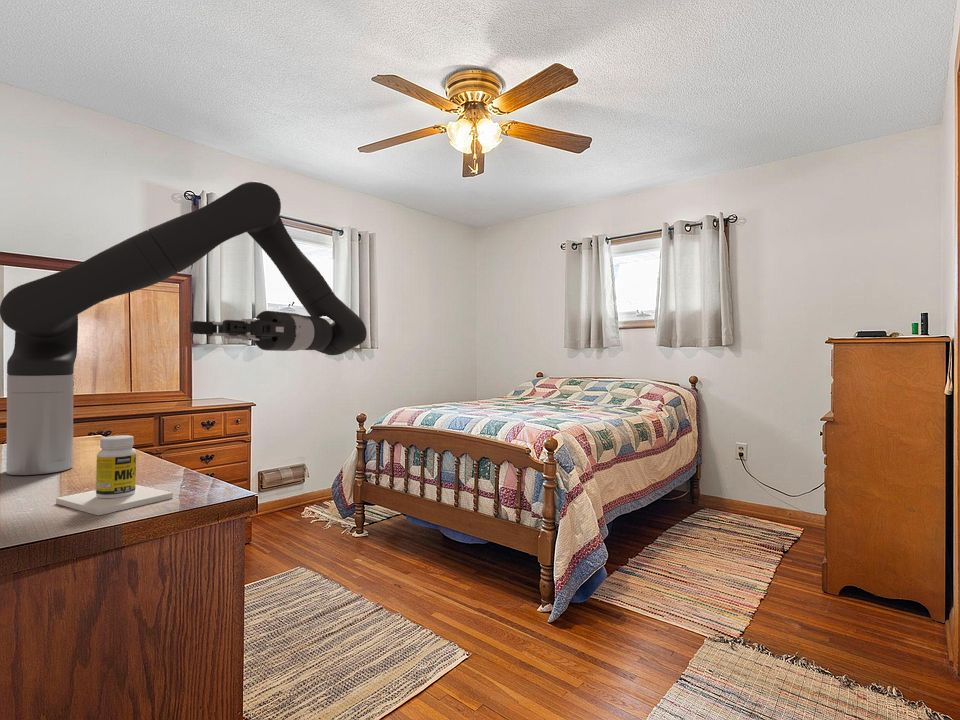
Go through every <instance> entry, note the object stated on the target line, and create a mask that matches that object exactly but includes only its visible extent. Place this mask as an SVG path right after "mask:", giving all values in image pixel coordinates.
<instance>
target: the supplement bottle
mask: <svg viewBox="0 0 960 720" xmlns="http://www.w3.org/2000/svg"><path fill="white" fill-rule="evenodd" d="M134 439H135V438H134V436H133V435H127V434H126V435H125V434H124V435H123V434H122V435H108V436H104V437H101V438H100V443H99V444H100V445H99V446H100V449H101V450H100V451H98V452H97V454H96V472H95V473H96V479H95V480H96V481H95V490H96V496H97V497H98V498H107V499H110V498H121V497H126V496H129V495H132V494H134V493H135V488H136V485H137V483H136V482H137V481H136V480H137V479H136V477H137V451H136V449H135V448H133V447H134V443H135V442H134Z"/></svg>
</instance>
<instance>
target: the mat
mask: <svg viewBox="0 0 960 720" xmlns="http://www.w3.org/2000/svg"><path fill="white" fill-rule="evenodd" d="M173 494H174V493H173V492H170V491H167V490H163V489H157V488H155V487H154V488H153V487H148V486H143V485H139V484H136V488H135V493H134V494H132V495H129V496H126V497H121V498H110V499H107V498H98V497H97V496H96V489H95V490H89V491H84V492H80V493H74V494H69V495H65V496H60V497H55V504H57V505H59V506H64V507H67V508H71V509H74V510H77V511H82V512H84V513H88V514H91V515H95V516H101V515H102V516H103V515H106V514H110V513H114V512H118V511H119V512H120V511H123V510H128V509H132V508H136V507H141V506H145V505H149V504H153V503H157V502H163V501H166V500H170V499H173V498H174V495H173Z"/></svg>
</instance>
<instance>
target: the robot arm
mask: <svg viewBox="0 0 960 720" xmlns="http://www.w3.org/2000/svg"><path fill="white" fill-rule="evenodd" d="M281 210H282V203H281V199H280V195H279V194H278V192H277V191H276V190H275V188H274V187H272V186H271V185H269V184H268V183H265V182H262V181H254V180H253V181H252V180H251V181H247V182H244V183H241V184H239V185H237V186H236V187H235V188H233V189H231V190H230V191H228V192H226V193H225V194H223V195H221V196H219V198H217V199H215V200H213V201H211V202H210V203H207V204H206V205H204V206H201V207H200V208H198V209H196V210H193V211H191V212H187V213H185V214H183V215H180V216H176V217H174V218H173V219H170V220H166V221H165V222H163V223H162V222H161V223H160V224H158V225H155V226H153V227H150V228H148V229H145V230H143V231H141V232H139V233H137V234H135V235H132V236H130V237H129V238H126V239H124V240H123V241H121V242H118V243H117V244H115V245H113V246H110V247H109V248H106V249H105V250H102V251H100V252H99V253H97V254H94V255H93V256H91V257H90V258H88V259H86V260H84V261H82V262H80V263H78V264H76V265H73V266H71V267H69V268H66V269H64V270H61V271H60V270H59V271H58V272H54V273H52V274H49V275H47V276H43V277H41V278H38V279H34V280H32V281H29V282H25V283H23V284H21V285H17V286H16V287H14V288H12V289H11V290H10V291H8V292H7V294H6V295H4V297H3V298H2V300H1V302H0V318H1V321H2V322H3V323H4V324H5V325H6V326H7V327H8V328H9V329H11V330H12V331H14V332H15V333H14V346H13V347H14V348H13V350H12V353H11V355H10V356H9V358H8V359H7V362H6V454H5V455H6V457H5V459H6V461H5V462H6V465H5V470H6V473H5V474H7V475H11V476H31V475H43V474H52V473H57V472H63V471H66V470H70V469H72V468H73V464H74V463H73V461H74V460H73V459H74V455H73V454H74V373H75V372H74V367H75V362H76V360H77V355H78V335H79V330H78V329H79V315H80V314H82V313H83V312H85V311H86V310H89V309H90V308H92V307H93V306H95V305H98V304H99V303H101V302H104V301H106V300H109V299H110V300H111V299H113V298H115V297H119V296H123V295H125V294H130V293H132V292H136V291H139V290H141V289H145V288H148V287H151V286H154V285H156V284H158V283H161V282H163V281H165V280H167V279H169V278H172V277H173V276H175V275H177V274H179V273H181V272H182V271H184V270H186V269H187V268H189V267H192V265H194V264H195V263H197V262H198V261H199V260H201V259H202V258H204V257H205V256H206V255H208V254H209V253H210V252H212V251H213V250H214V249H215V248H217V247H218V246H220V245H221V244H223V243H225V242H226V241H229V240H231V239H233V238H236V237H238V236H240V235H243V234H245V233H247V234H248V235H249V236H250V237H251V238H252V239H253V240H254V241H255V242H256V243H257V245H258V246H260V248H261V249H262V250H263V251H264V253H265V254H266V255H267V256H268V257H269V259H270V260H271V261H272V263H273V264H274V265H275V267H276V268H277V269H278V271H279V273H280V274H281V275H282V277H283V278H284V280H285V281H286V284H288V286H289V288H290V289H291V290H292V292H293V293H294V295H295V297H296V298H297V299H298V301H299V302H300V304H301V305H302V307H303V308H304V309H305V311H306V312H307V313H308V315H303V314H299V313H295V312H294V313H293V312H283V311H276V310H275V311H274V310H262V311H261V312H260V313H258V314H257V315H256V317H255V318H242V319H225V320H223V321H215V320H211V321H201V320H200V321H199V320H192V321H191V322H190V324H189V325H190V327H189V330H190V331H189V332H190V333H191V334H192V335H206V336H208V337H224V338H225V340H226V339H227V340H229V339H231V340H236V339H237V340H241V341H253V342H254V344H255V345H256V346H257V347H258V348H259V349H260V350H262V351H275V352H276V351H277V352H294V351H295V352H296V351H316V352H318V353H322V354H323V355H324V354H325V355H327V356H338V355H342V354H344V353H346V352H348V351H350V350H352V349H354V348H355V347H358V346H359V345H361V344H363V343H364V342H365V340H366V338H367V328H366V325H365V323H364V321H363V320H362V318H361V317H360V316H359V315H358V314H357V313H355V312H354V311H353V310H352V309H351V308H350V307H349V306H348V305H347V304H345V303H344V301H342V300H341V299H339V297H337V295H336V294H335V292H334V291H333V289H332V288H331V287H330V285H329V283H328V282H327V281H326V279H325V277H324V276H323V275H322V273H321V272H320V270H318V268H317V267H316V266H315V265H314V264H313V262H312V261H311V260H310V259H308V257H307V255H305V254H304V253H303V252H302V251H301V249H300V248H299V246H297V244H296V242H295V241H294V240H293V239H292V237H291V236H290V233H289V232H288V231H287V229H286V226H285V224H284V223H283V221H282V218H281V216H280V214H281ZM322 317H327V318H328V319H330V320H331V321H333V322H331V323H330V322H329V321H328V319H327V320H326V319H325V318H322Z"/></svg>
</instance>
